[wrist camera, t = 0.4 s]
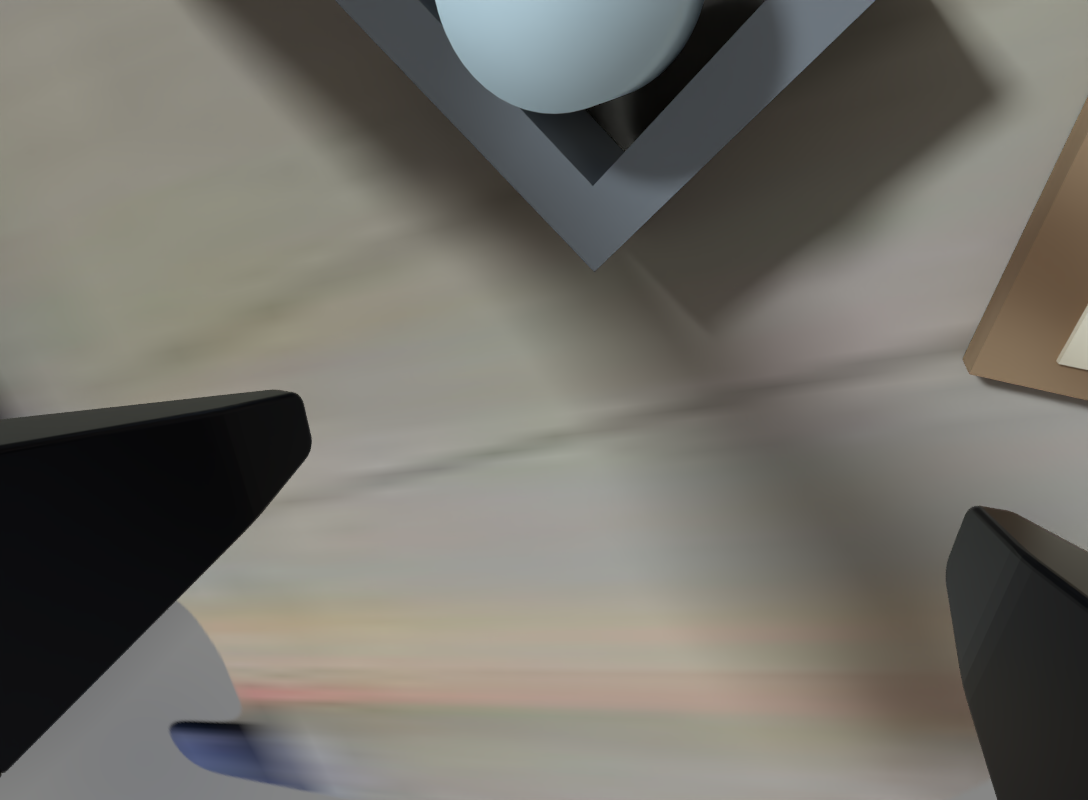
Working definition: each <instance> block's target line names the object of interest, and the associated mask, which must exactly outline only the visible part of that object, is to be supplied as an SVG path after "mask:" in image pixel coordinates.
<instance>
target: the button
mask: <svg viewBox="0 0 1088 800" xmlns="http://www.w3.org/2000/svg"><path fill="white" fill-rule="evenodd" d="M435 2H436V6H437V9H438V13H439V17H440V20H441V22H442V25H443V28H444V30H445V33H446V35H447V37H448V39H449V41H450V43H451V45H452V47H453V49H454V51H455V52H456V54H457V56H458V57H459V59H460V60H461V62H462V63H463V65H464V66H465V67H466V68H467V69H468V71H469V72H470V73H471V74H472V75H473V77H474V78H475V79H476V80H477V81H478V82H480V83H481V84H482V85H483V86H484V87H485V88H486V89H487V90H489V91H490V92H491V93H493V94H494V95H496V96H497V97H498V98H500V99H502V100H504V101H506V102H508V103H510V104H511V105H514V106H517V107H519V108H522V109H525V110H529V111H534V112H539V113H550V114H559V113H569V112H575V111H579V110H582V109H586V108H589V107H592V106H595V105H598V104H601V103H604V102H607V101H610V100H613V99H616V98H619V97H622V96H624V95H627V94H629V93H632V92H634V91H636V90H638V89H640V88H642V87H643V86H645V85H647V84H649V83H650V82H651V81H652V80H654V79H655V78H656V77H658V76H659V75H660V74H661V73H662V72H663V71H664V70H665V69H666V68H667V67H668V66H669V65H670V64H671V63H672V62H673V61H674V60H675V58H676V57H677V56H678V55H679V53H680V52H681V51H682V49H683V48H684V46H685V44H686V43H687V41H688V39H689V38H690V36H691V34H692V32H693V30H694V28H695V26H696V23H697V21H698V18H699V16H700V13H701V10H702V7H703V4H704V0H435Z"/></svg>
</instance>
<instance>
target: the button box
mask: <svg viewBox="0 0 1088 800" xmlns="http://www.w3.org/2000/svg"><path fill="white" fill-rule="evenodd" d="M874 1H875V0H765V1H764V3H763V4H762V5H761V6H760V7H759V8H758V9H757V10H756V11H755V12H754V13H753V14H752V15H751V17H750V18H749V19H748V20H747V21H746V22H745V23H744V24H743V25H742V26H741V27H740V28H739V29H738V31H737V32H736V33H735V34H734V35H733V36H732V37H731V38H730V39H729V40H728V41H727V42H726V43H725V44H724V46H723V47H722V48H721V49H720V50H719V51H718V52H717V53H716V54H715V55H714V56H713V57H712V58H711V60H710V61H709V62H708V63H707V64H706V65H705V66H704V67H703V68H702V69H701V70H700V71H699V72H698V74H697V75H696V76H695V77H694V78H693V79H692V80H691V81H690V82H689V83H688V84H687V85H686V86H685V88H684V89H683V90H682V91H681V92H680V93H679V94H678V95H677V96H676V97H675V98H674V99H673V100H672V102H671V103H670V104H669V105H668V106H667V107H666V108H665V109H664V110H663V111H662V112H661V113H660V114H659V116H658V117H657V118H656V119H655V120H654V121H653V122H652V123H651V124H650V125H649V126H648V127H647V128H646V130H645V131H644V132H643V133H642V134H641V135H640V136H639V137H638V138H637V139H636V140H635V141H634V142H633V144H632V145H631V146H630V147H629V148H628V149H627V150H626V151H625V152H624V151H623V150H622V149H621V148H620V147H619V146H618V145H617V144H616V143H615V142H614V141H613V139H612V138H611V137H610V136H609V135H608V134H607V133H606V132H605V131H604V130H603V129H602V128H601V126H600V125H599V124H598V123H597V122H596V121H595V120H594V119H593V118H592V117H591V116H590V115H589V113H588V112H587V111H586V110H585V109H582V110H579V111H575V112H569V113H559V114H550V113H539V112H534V111H529V110H525V109H522V108H519V107H517V106H514V105H511V104H510V103H508V102H506V101H504V100H502V99H500V98H498V97H497V96H496V95H494V94H493V93H491V92H490V91H489V90H487V89H486V88H485V87H484V86H483V85H482V84H481V83H480V82H478V81H477V80H476V79H475V78H474V77H473V75H472V74H471V73H470V72H469V71H468V69H467V68H466V67H465V66H464V65H463V63H462V62H461V60H460V59H459V57H458V56H457V54H456V52H455V51H454V49H453V47H452V45H451V43H450V41H449V39H448V37H447V35H446V33H445V30H444V28H443V25H442V22H441V20H440V17H439V13H438V9H437V6H436V2H435V0H336V2H337V3H338V4H339V5H340V6H341V7H342V8H343V9H344V10H345V11H346V12H347V14H348V15H349V16H350V17H351V18H352V19H353V20H354V21H355V22H356V23H357V24H358V25H359V26H360V27H361V28H362V29H363V30H364V31H365V32H366V33H367V34H368V36H369V37H370V38H371V39H372V40H373V41H374V42H375V43H376V44H377V45H378V46H379V47H380V48H381V49H382V50H383V51H384V52H385V53H386V54H387V55H388V56H389V57H390V59H391V60H392V61H393V62H394V63H395V64H396V65H397V66H398V67H399V68H400V69H401V70H402V71H403V72H404V73H405V74H406V75H407V76H408V77H409V78H410V79H411V81H412V82H413V83H414V84H415V85H416V86H417V87H418V88H419V89H420V90H421V91H422V92H423V93H424V94H425V95H426V96H427V97H428V98H429V99H430V100H431V101H432V103H433V104H434V105H435V106H436V107H437V108H438V109H439V110H440V111H441V112H442V113H443V114H444V115H445V116H446V117H447V118H448V119H449V120H450V121H451V122H452V123H453V125H454V126H455V127H456V128H457V129H458V130H459V131H460V132H461V133H462V134H463V135H464V136H465V137H466V138H467V139H468V140H469V141H470V142H471V143H472V144H473V145H474V147H475V148H476V149H477V150H478V151H479V152H480V153H481V154H482V155H483V156H484V157H485V158H486V159H487V160H488V161H489V162H490V163H491V164H492V165H493V166H494V167H495V169H496V170H497V171H498V172H499V173H500V174H501V175H502V176H503V177H504V178H505V179H506V180H507V181H508V182H509V183H510V184H511V185H512V186H513V187H514V188H515V189H516V190H517V192H518V193H519V194H520V195H521V196H522V197H523V198H524V199H525V200H526V201H527V202H528V203H529V204H530V205H531V206H532V207H533V208H534V209H535V210H536V211H537V212H538V214H539V215H540V216H541V217H542V218H543V219H544V220H545V221H546V222H547V223H548V224H549V225H550V226H551V227H552V228H553V229H554V230H555V231H556V232H557V233H558V234H559V236H560V237H561V238H562V239H563V240H564V241H565V242H566V243H567V244H568V245H569V246H570V247H571V248H572V249H573V250H574V251H575V252H576V253H577V254H578V255H579V256H580V258H581V259H582V260H583V261H584V262H585V263H586V264H587V265H588V266H589V267H590V268H591V269H592V270H593V271H594V272H595V271H596V270H597V269H598V268H599V267H600V266H601V265H602V264H603V263H604V262H605V261H606V260H607V259H608V258H609V257H610V256H611V255H612V254H613V253H614V252H615V251H616V250H618V249H619V248H620V247H621V246H622V245H623V244H624V243H625V242H626V241H627V240H628V239H629V238H630V237H631V236H632V235H633V234H634V233H635V232H636V231H637V230H638V229H639V228H640V227H641V226H642V225H643V224H644V223H645V222H646V221H648V220H649V219H650V218H651V217H652V216H653V215H654V214H655V213H656V212H657V211H658V210H659V209H660V208H661V207H662V206H663V205H664V204H665V203H666V202H667V201H668V200H669V199H670V198H671V197H672V196H673V195H674V194H675V193H676V192H678V191H679V190H680V189H681V188H682V187H683V186H684V185H685V184H686V183H687V182H688V181H689V180H690V179H691V178H692V177H693V176H694V175H695V174H696V173H697V172H698V171H699V170H700V169H701V168H702V167H703V166H704V165H705V164H706V163H708V162H709V161H710V160H711V159H712V158H713V157H714V156H715V155H716V154H717V153H718V152H719V151H720V150H721V149H722V148H723V147H724V146H725V145H726V144H727V143H728V142H729V141H730V140H731V139H732V138H733V137H734V136H735V135H736V134H738V133H739V132H740V131H741V130H742V129H743V128H744V127H745V126H746V125H747V124H748V123H749V122H750V121H751V120H752V119H753V118H754V117H755V116H756V115H757V114H758V113H759V112H760V111H761V110H762V109H763V108H764V107H765V106H766V105H768V104H769V103H770V102H771V101H772V100H773V99H774V98H775V97H776V96H777V95H778V94H779V93H780V92H781V91H782V90H783V89H784V88H785V87H786V86H787V85H788V84H789V83H790V82H791V81H792V80H793V79H794V78H795V77H796V76H798V75H799V74H800V73H801V72H802V71H803V70H804V69H805V68H806V67H807V66H808V65H809V64H810V63H811V62H812V61H813V60H814V59H815V58H816V57H817V56H818V55H819V54H820V53H821V52H822V51H823V50H824V49H825V48H826V47H828V46H829V45H830V44H831V43H832V42H833V41H834V40H835V39H836V38H837V37H838V36H839V35H840V34H841V33H842V32H843V31H844V30H845V29H846V28H847V27H848V26H849V25H850V24H851V23H852V22H853V21H854V20H855V19H856V18H858V17H859V16H860V15H861V14H862V13H863V12H864V11H865V10H866V9H867V8H868V7H869V6H870V5H871V4H872V3H873V2H874Z"/></svg>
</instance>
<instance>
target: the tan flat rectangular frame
mask: <svg viewBox="0 0 1088 800" xmlns="http://www.w3.org/2000/svg"><path fill="white" fill-rule="evenodd" d="M963 361H964V363H965V366H966V368H967V370H968V372H969V374H971V375H976V376H980V377H985V378H989V379H994V380H998V381H1003V382H1007V383H1012V384H1016V385H1021V386H1025V387H1029V388H1034V389H1038V390H1043V391H1047V392H1052V393H1056V394H1061V395H1065V396H1070V397H1074V398H1079V399H1083V400H1088V97H1087V99H1086V102H1085V104H1084V106H1083V108H1082V110H1081V112H1080V114H1079V116H1078V118H1077V120H1076V122H1075V125H1074V127H1073V129H1072V131H1071V133H1070V135H1069V137H1068V139H1067V141H1066V143H1065V145H1064V148H1063V150H1062V152H1061V154H1060V156H1059V158H1058V160H1057V162H1056V164H1055V166H1054V168H1053V171H1052V173H1051V175H1050V177H1049V179H1048V181H1047V183H1046V185H1045V187H1044V189H1043V191H1042V194H1041V196H1040V198H1039V200H1038V202H1037V204H1036V206H1035V208H1034V210H1033V212H1032V215H1031V217H1030V219H1029V221H1028V223H1027V225H1026V227H1025V229H1024V231H1023V233H1022V235H1021V238H1020V240H1019V242H1018V244H1017V246H1016V248H1015V250H1014V252H1013V254H1012V256H1011V258H1010V261H1009V263H1008V265H1007V267H1006V269H1005V271H1004V273H1003V275H1002V277H1001V279H1000V281H999V284H998V286H997V288H996V290H995V292H994V294H993V296H992V298H991V300H990V302H989V304H988V307H987V309H986V311H985V313H984V315H983V317H982V319H981V321H980V323H979V325H978V327H977V330H976V332H975V334H974V336H973V338H972V340H971V342H970V344H969V346H968V348H967V350H966V353H965V355H964V357H963Z"/></svg>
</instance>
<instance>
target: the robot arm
mask: <svg viewBox="0 0 1088 800" xmlns="http://www.w3.org/2000/svg"><path fill="white" fill-rule="evenodd" d="M311 444H312V439H311V433H310V429H309V425H308V420H307V416H306V412H305V407H304V403H303V400H302V399H301V397H300V396H299V395H298V394H296V393H293V392H288V391H282V390H265V391H256V392H246V393H237V394H228V395H219V396H210V397H201V398H192V399H183V400H174V401H165V402H156V403H147V404H138V405H128V406H119V407H110V408H101V409H92V410H83V411H74V412H65V413H56V414H47V415H38V416H29V417H19V418H10V419H1V420H0V777H1V773H4V772H6V771H7V770H8V769H9V768H10V767H11V766H12V765H13V764H14V763H15V762H16V761H17V760H18V759H19V758H20V757H21V756H22V755H23V754H24V753H25V752H26V751H27V750H28V749H29V748H30V747H31V746H32V745H33V744H34V743H35V742H36V741H37V740H38V739H39V738H40V737H41V736H42V735H43V734H44V733H45V732H46V731H47V730H48V729H49V728H50V727H51V726H52V725H53V724H54V723H55V722H56V721H57V720H58V719H59V718H60V717H61V716H62V715H63V714H64V713H65V712H66V711H67V710H68V709H69V708H70V707H71V706H72V705H73V704H74V703H75V702H76V701H77V700H78V699H79V698H80V697H81V696H82V695H83V694H84V693H85V692H86V691H87V689H89V688H90V687H91V686H92V685H93V684H94V683H95V682H96V681H97V680H98V679H99V678H100V677H101V676H102V675H103V674H104V673H105V672H106V671H107V670H108V669H109V668H110V667H111V666H112V665H113V664H114V663H115V662H116V661H117V660H118V659H119V658H120V657H121V656H122V655H123V654H124V653H125V652H126V650H128V649H129V648H130V647H131V646H132V645H133V643H134V642H136V640H138V638H140V636H141V635H142V634H144V632H146V630H147V629H148V628H149V627H150V626H151V625H152V624H153V623H154V622H155V621H156V620H157V619H158V618H159V617H160V616H161V615H162V614H163V613H164V612H165V611H166V610H167V609H168V608H169V607H170V606H171V605H172V604H173V603H174V602H175V601H176V600H177V599H178V598H179V597H180V596H181V595H182V594H183V593H184V592H185V591H186V590H187V589H188V588H189V587H190V586H191V585H192V584H193V583H194V582H195V581H196V580H197V579H198V578H199V577H200V576H201V575H202V574H203V573H204V572H205V571H206V570H207V569H208V568H209V567H210V566H211V565H212V564H213V563H214V562H215V561H216V560H217V559H218V558H219V557H220V556H221V555H222V554H223V553H224V552H225V551H226V550H227V549H228V548H229V547H230V546H231V545H232V544H233V543H234V542H235V541H236V540H237V539H238V538H239V537H240V536H241V535H242V534H243V533H244V532H245V531H246V530H247V529H248V528H249V527H250V526H251V525H252V524H253V522H254V521H255V520H256V519H257V518H258V517H259V516H260V514H261V513H262V512H263V511H264V510H265V509H266V507H267V506H268V505H269V504H270V502H271V501H272V500H273V499H274V497H275V496H276V495H277V494H278V493H279V491H280V490H281V489H282V488H283V486H284V485H285V484H286V483H287V482H288V480H289V479H290V478H291V477H292V475H293V474H294V473H295V472H296V470H297V469H298V468H299V467H300V466H301V464H302V463H303V462H304V461H305V459H306V458H307V456H308V455H309V452H310V449H311ZM946 586H947V592H948V598H949V605H950V611H951V617H952V624H953V630H954V636H955V643H956V649H957V655H958V661H959V668H960V673H961V678H962V683H963V688H964V691H965V695H966V699H967V702H968V706H969V709H970V712H971V716H972V719H973V722H974V725H975V729H976V732H977V735H978V738H979V742H980V745H981V748H982V751H983V755H984V758H985V761H986V764H987V768H988V771H989V774H990V777H991V781H992V784H993V787H994V790H995V794H996V797H997V800H1088V552H1087V551H1085V550H1083V549H1081V548H1080V547H1078V546H1076V545H1074V544H1072V543H1070V542H1068V541H1066V540H1065V539H1063V538H1061V537H1059V536H1057V535H1055V534H1053V533H1052V532H1050V531H1048V530H1046V529H1044V528H1042V527H1040V526H1038V525H1037V524H1035V523H1033V522H1031V521H1029V520H1027V519H1025V518H1023V517H1022V516H1020V515H1018V514H1016V513H1014V512H1010V511H1007V510H1001V509H995V508H989V507H983V506H974V507H971V508H970V509H969V510H968V511H967V513H966V514H965V517H964V519H963V522H962V524H961V527H960V529H959V532H958V535H957V537H956V540H955V542H954V545H953V548H952V550H951V553H950V555H949V558H948V562H947V566H946Z"/></svg>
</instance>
